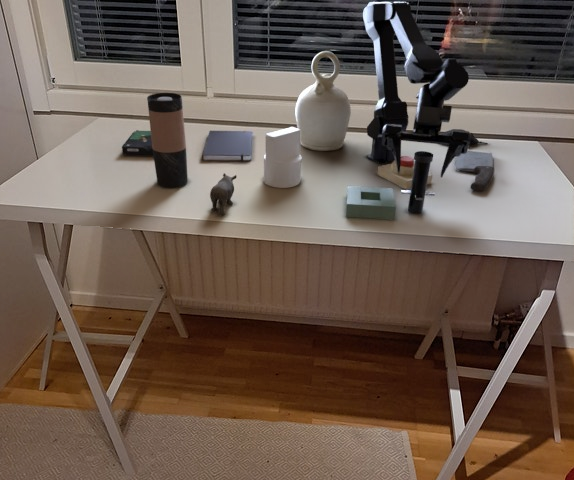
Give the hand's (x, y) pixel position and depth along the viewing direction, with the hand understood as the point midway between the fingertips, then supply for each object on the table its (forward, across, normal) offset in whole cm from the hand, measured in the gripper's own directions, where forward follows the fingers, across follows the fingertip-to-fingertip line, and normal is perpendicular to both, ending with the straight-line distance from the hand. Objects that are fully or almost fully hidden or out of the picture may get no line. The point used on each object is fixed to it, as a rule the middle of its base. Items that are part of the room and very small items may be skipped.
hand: (419, 174), depth 120 cm
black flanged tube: (+8, 0, +3) cm, 8 cm away
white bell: (-20, -28, +31) cm, 46 cm away
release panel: (-6, -4, +16) cm, 18 cm away
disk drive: (-7, -74, +18) cm, 76 cm away
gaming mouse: (-30, +12, +41) cm, 51 cm away
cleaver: (-13, +14, +24) cm, 31 cm away
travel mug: (+8, -57, +3) cm, 58 cm away
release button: (-8, -4, +14) cm, 16 cm away
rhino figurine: (+13, -41, -2) cm, 43 cm away
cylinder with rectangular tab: (+2, -32, +9) cm, 34 cm away
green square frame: (+8, -10, +2) cm, 13 cm away
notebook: (-12, -52, +23) cm, 59 cm away
